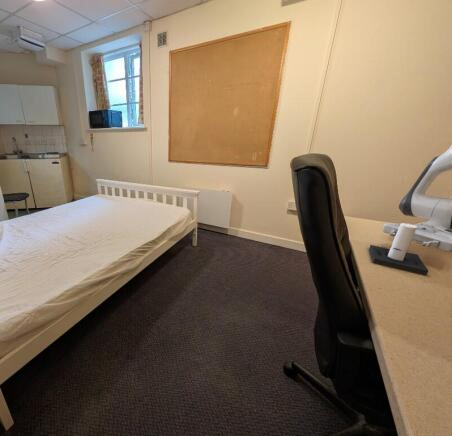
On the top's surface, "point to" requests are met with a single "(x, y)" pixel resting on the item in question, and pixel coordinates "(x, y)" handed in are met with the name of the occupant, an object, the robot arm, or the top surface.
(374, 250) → the base pad
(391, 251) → the tube
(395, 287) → the top surface
